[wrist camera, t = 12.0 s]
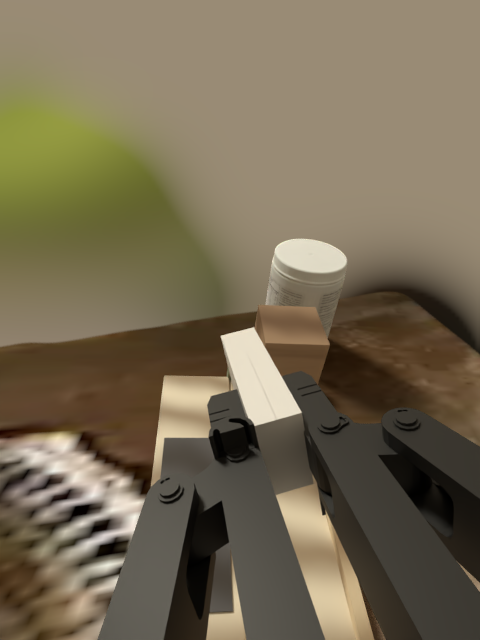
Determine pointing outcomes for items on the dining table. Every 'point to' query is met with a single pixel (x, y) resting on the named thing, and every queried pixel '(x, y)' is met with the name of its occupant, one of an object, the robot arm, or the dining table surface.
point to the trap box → (297, 509)
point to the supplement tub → (307, 277)
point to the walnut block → (293, 338)
